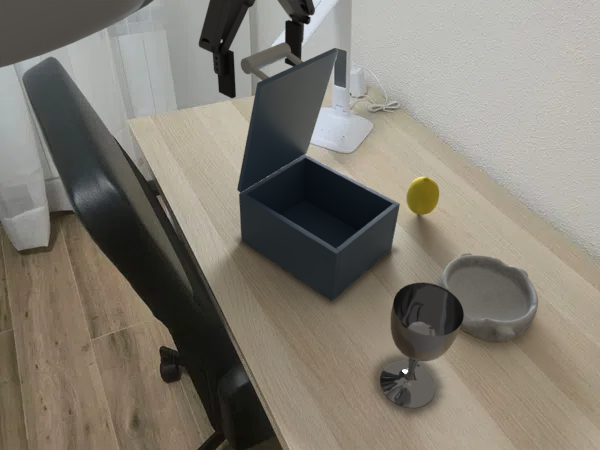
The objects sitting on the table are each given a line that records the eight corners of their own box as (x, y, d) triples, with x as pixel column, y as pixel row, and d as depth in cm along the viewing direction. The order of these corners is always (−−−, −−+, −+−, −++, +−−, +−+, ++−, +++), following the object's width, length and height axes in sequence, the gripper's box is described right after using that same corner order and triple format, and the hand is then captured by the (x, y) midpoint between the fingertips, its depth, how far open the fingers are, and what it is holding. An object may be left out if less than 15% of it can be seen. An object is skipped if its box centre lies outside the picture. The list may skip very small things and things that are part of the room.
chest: (391, 249, 91) (400, 203, 85) (331, 301, 82) (336, 254, 76) (303, 198, 101) (305, 154, 95) (241, 240, 92) (238, 193, 86)
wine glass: (415, 423, 68) (439, 348, 58) (364, 384, 72) (379, 308, 62) (449, 382, 72) (477, 307, 63) (399, 348, 76) (418, 272, 67)
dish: (514, 362, 75) (524, 339, 72) (420, 316, 81) (426, 293, 77) (543, 297, 84) (553, 274, 81) (457, 260, 90) (464, 237, 87)
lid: (338, 50, 79) (301, 23, 81) (261, 86, 70) (221, 54, 72) (306, 153, 94) (276, 128, 97) (240, 193, 85) (208, 164, 88)
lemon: (440, 217, 98) (450, 181, 93) (417, 227, 96) (425, 191, 91) (420, 200, 102) (428, 164, 96) (396, 210, 99) (403, 173, 94)
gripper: (200, -59, 58) (214, 118, 72) (346, -92, 73) (334, 61, 86) (156, -73, 62) (178, 99, 76) (303, -101, 76) (299, 47, 90)
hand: (261, 79), depth 81 cm, fingers open, 13 cm apart
